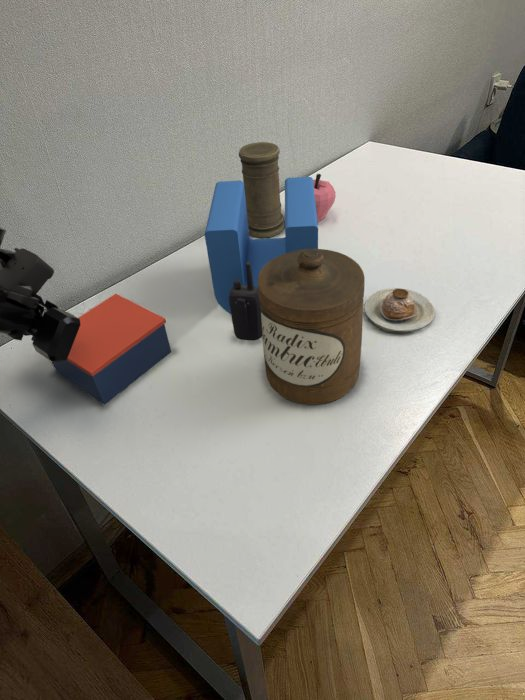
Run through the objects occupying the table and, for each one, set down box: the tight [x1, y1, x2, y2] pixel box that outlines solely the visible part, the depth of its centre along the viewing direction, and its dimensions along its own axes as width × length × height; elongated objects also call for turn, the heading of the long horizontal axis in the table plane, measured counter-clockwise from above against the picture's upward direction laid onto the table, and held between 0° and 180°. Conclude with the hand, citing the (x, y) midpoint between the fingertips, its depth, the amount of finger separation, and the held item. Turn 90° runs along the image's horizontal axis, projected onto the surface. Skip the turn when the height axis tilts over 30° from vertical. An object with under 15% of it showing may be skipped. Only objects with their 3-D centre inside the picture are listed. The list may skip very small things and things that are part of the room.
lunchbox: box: [51, 324, 172, 406], centre depth 83 cm, size 15×13×6 cm
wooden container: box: [258, 248, 366, 405], centre depth 73 cm, size 15×15×22 cm
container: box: [238, 141, 285, 239], centre depth 109 cm, size 9×9×18 cm
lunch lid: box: [67, 293, 167, 376], centre depth 81 cm, size 15×13×1 cm
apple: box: [313, 173, 337, 222], centre depth 114 cm, size 10×9×10 cm
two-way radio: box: [229, 262, 263, 342], centre depth 83 cm, size 6×4×15 cm
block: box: [204, 176, 319, 315], centre depth 92 cm, size 18×18×18 cm
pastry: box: [364, 287, 435, 334], centre depth 88 cm, size 12×12×5 cm
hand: (75, 326), depth 76 cm, fingers closed
